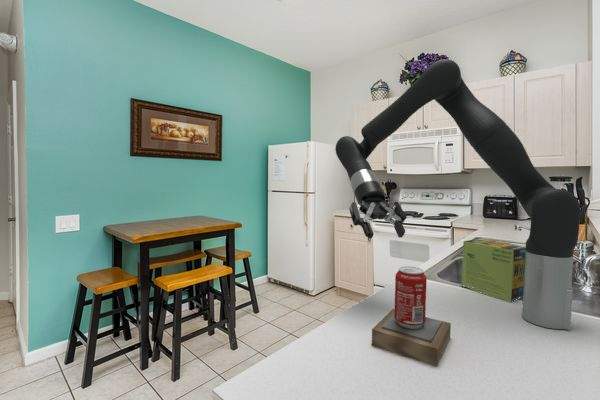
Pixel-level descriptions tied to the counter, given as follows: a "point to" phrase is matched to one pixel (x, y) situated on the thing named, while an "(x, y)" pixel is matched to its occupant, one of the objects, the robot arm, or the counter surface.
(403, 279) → the beverage can
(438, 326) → the walnut plinth
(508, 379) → the counter surface
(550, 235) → the robot arm
